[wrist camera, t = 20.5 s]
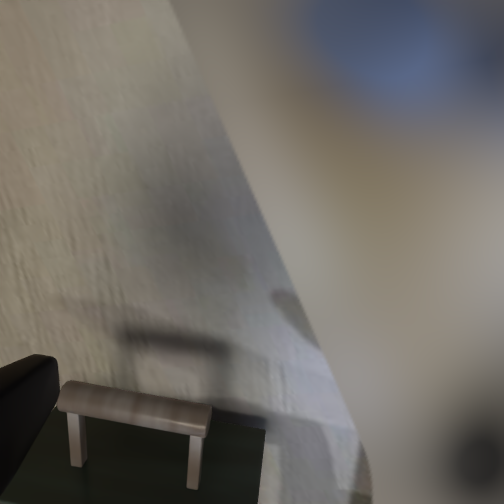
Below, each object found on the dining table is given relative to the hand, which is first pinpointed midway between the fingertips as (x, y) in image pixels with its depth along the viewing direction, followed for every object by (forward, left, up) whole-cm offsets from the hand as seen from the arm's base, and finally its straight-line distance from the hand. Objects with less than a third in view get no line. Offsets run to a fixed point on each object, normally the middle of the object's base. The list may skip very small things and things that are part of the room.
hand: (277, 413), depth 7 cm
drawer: (+6, +17, -12) cm, 22 cm away
